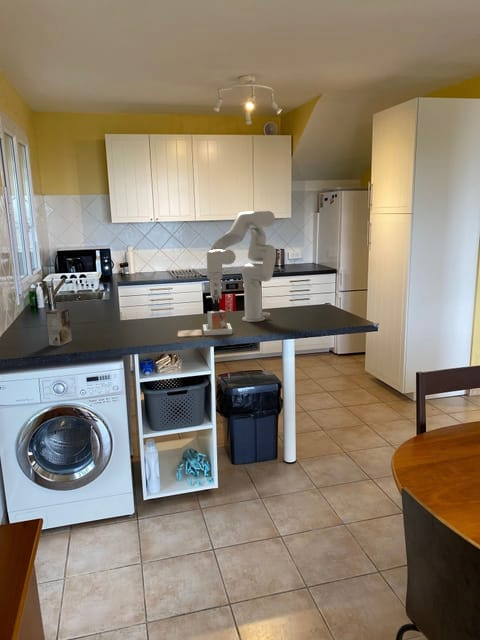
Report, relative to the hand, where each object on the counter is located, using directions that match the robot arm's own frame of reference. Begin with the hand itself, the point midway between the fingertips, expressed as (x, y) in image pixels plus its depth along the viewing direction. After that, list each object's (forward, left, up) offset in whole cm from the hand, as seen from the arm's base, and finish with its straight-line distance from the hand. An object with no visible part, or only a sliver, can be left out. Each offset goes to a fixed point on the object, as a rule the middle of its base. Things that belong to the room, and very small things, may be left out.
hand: (215, 309), depth 244 cm
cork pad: (+14, +2, -12) cm, 18 cm away
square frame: (0, 0, -12) cm, 12 cm away
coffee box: (+76, +6, -12) cm, 77 cm away
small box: (0, 0, -12) cm, 12 cm away
